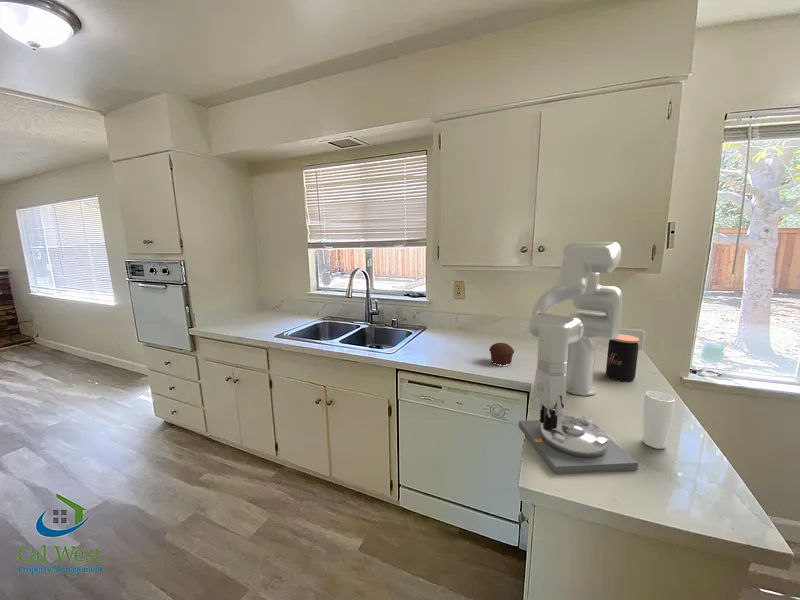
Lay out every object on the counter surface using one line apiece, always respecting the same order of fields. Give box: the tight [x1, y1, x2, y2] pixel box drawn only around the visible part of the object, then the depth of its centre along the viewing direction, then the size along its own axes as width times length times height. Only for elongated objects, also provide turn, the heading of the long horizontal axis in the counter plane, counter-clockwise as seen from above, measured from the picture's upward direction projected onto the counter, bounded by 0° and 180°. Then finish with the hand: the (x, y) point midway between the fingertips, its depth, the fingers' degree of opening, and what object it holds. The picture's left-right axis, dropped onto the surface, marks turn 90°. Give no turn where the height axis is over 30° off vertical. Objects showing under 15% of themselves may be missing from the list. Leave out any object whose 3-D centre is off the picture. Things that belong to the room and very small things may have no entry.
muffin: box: [488, 342, 515, 365], centre depth 160 cm, size 12×11×10 cm
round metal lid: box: [540, 406, 609, 457], centre depth 94 cm, size 17×17×10 cm
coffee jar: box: [605, 333, 640, 382], centre depth 141 cm, size 11×11×18 cm
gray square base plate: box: [518, 419, 639, 475], centre depth 95 cm, size 22×22×2 cm
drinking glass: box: [642, 390, 676, 450], centre depth 94 cm, size 7×7×15 cm
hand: (548, 424), depth 95 cm, fingers open, 2 cm apart
